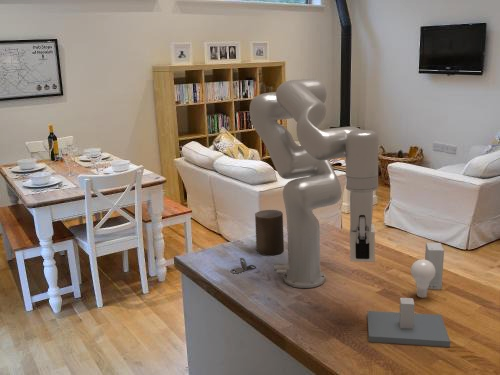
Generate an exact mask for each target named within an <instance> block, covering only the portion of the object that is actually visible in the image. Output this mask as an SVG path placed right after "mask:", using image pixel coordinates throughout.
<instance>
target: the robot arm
mask: <svg viewBox="0 0 500 375" xmlns="http://www.w3.org/2000/svg"><path fill="white" fill-rule="evenodd" d="M326 99H327V89H326V87H325V85H324V84H323V83H322V81H320V80H319V79H316V78H302V79H291V80H287V81H284V82H282V83H281V84H280V85H278V87H277V88H276V91H273V92H272V91H271V92H266V93H261V94H258V95H256V96H254V97H253V99H251V101H250V104H249V116H250V121H251V124H252V126H253V128H254V130H255V132H256V134H257V135H258V136H259V137H260V139H261V140H262V141H263V143H264V145H265V147H266V150H267V152H268V154H269V156H270V160H271V161H272V164H273V166H274V168H275V170H276V172H277V174H278V175H279V177H281V178H282V179H284V180H290V181H288V182H287V183H286V184H284V186H283V190H282V197H283V202H284V209H285V213H286V227H287V228H286V229H287V257H288V258H287V259H288V260H287V263H285V264H274V268H273V269H274V271H275V272H276V273H277V274H278V275H279V274H283V281H284V282H285V284H287V285H288V286H291V287H294V288H298V289H299V288H300V289H310V288H315V287H316V288H317V287H319V286H321V285H322V284H324V283H325V281H326V274H325V273H324V271H322V270H321V236H320V235H321V234H320V233H321V231H320V230H321V229H320V222H319V220H318V218H317V216H316V215H315V214H314V213H313V211H314V210H316V209H319V208H324V207H329V206H333V205H335V204H337V203H338V202H339V201H340V200H341V198H342V192H343V191H342V186H341V183H340V180H339V178H338V176H337V173H336V172H335V170H334V167H333V166H332V164H331V162H330V160H336V159H345V189H346V190H347V191H349V192H350V193H349V216H350V218H349V222H350V223H349V224H350V225H349V231H350V230H351V231H352V232H353V231H356V230H357V231H356V232H357V242H356V259H369V243H368V231H369V232H370V231H371V226H372V225H373V224H372V223H373V213H374V212H373V209H374V192H375V191H377V190H378V189H379V136H378V133H377V132H376V131H374V130H370V129H361V128H359V127H357V126H342V127H334V128H332V127H331V128H324V129H319V128H318V127H319V126H320V125H321V124H322V123H323V121H324V120H325V117H326V115H327V108H326V105H325V102H326V101H327V100H326ZM289 119H293V120H295V122H296V130H295V131H296V137H297V139H298V140H297V141H298V142H299V144H300V145H299V144H297V143H296V142H295V140H294V138H293V135H292V134H291V132H290V131H289V130H288V129H287V128H286V127H285V126H284V125H282V124H280V123H279V122H278V121H279V120H280V121H281V120H289ZM366 226H367V230H365V228H366ZM358 228H360V230H358ZM359 233H360V235H359ZM365 233H366V235H365ZM274 271H273V272H274Z"/></svg>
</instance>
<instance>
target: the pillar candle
mask: <svg viewBox="0 0 500 375" xmlns="http://www.w3.org/2000/svg"><path fill="white" fill-rule="evenodd" d="M254 220H255V243H256V247H255V248H256V252H257V254H259V255H263V256H268V257H269V256H270V257H271V256H277V255H280V254H283V253H284V251H285V246H284V245H285V242H284V215H283V212H282V211H281V210H278V209H263V210H259V211H257V212H254Z"/></svg>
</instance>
